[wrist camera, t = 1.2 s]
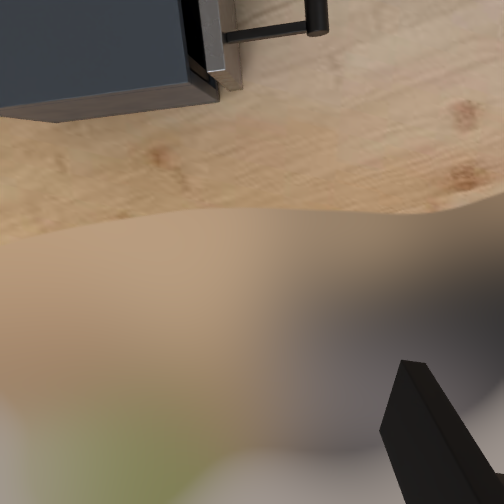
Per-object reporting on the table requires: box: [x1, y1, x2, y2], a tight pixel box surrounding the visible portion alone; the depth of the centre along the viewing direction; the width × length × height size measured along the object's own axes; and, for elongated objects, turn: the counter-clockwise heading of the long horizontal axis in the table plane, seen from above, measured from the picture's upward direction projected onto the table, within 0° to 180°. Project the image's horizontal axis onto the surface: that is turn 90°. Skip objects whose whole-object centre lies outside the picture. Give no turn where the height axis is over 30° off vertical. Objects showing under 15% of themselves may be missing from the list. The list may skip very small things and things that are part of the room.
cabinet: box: [0, 0, 219, 123], centre depth 30 cm, size 15×14×10 cm
